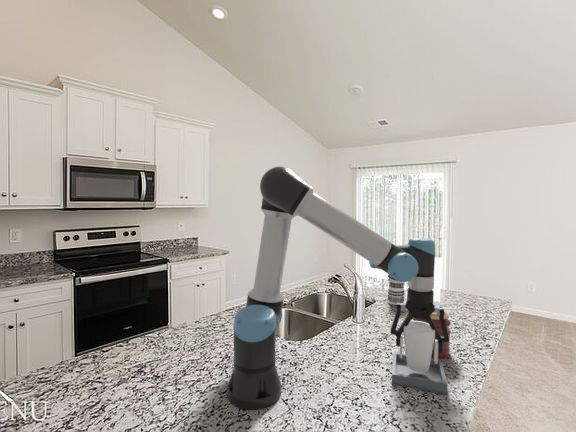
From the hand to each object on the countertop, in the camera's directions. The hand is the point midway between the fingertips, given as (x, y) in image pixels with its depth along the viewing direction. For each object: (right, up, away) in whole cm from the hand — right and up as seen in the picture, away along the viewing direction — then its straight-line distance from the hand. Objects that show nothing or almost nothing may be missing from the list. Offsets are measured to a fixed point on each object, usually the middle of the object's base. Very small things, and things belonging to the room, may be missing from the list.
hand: (418, 359), depth 101 cm
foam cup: (0, -3, 0) cm, 3 cm away
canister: (+11, -5, +17) cm, 21 cm away
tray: (0, -5, 0) cm, 5 cm away
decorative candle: (+18, -2, +73) cm, 76 cm away
